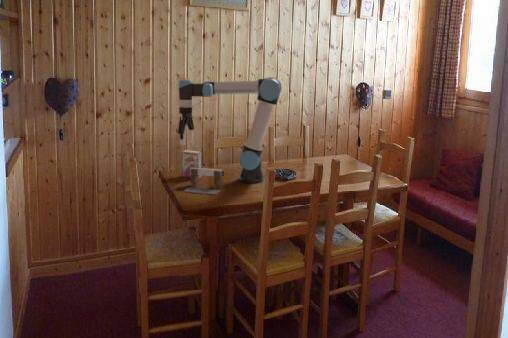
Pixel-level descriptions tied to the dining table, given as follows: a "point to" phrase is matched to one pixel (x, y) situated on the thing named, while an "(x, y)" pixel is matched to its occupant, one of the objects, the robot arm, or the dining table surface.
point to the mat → (202, 191)
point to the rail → (206, 171)
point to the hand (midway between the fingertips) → (186, 142)
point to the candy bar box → (190, 161)
